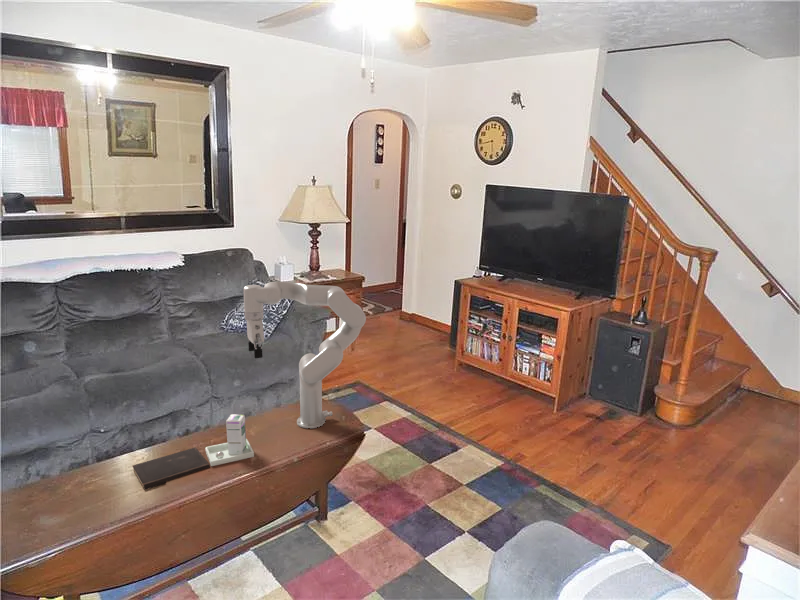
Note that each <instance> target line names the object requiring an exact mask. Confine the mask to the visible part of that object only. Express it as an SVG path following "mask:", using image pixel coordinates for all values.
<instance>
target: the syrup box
mask: <svg viewBox="0 0 800 600" xmlns="http://www.w3.org/2000/svg"><path fill="white" fill-rule="evenodd" d="M245 417H246V416H245V414H241V413H238V414H237V413H236V414H235V413H234V414H233V413H232V414H231V413H230V415H229V416H228V418H227V419H226V421H225V425H226V439H227V442H226V443H228V454H235V455H240V454H243V453H244V451H245V449H246V448H247V444H246V439H247V433H246V432H247V431H246V430H247V429H246V418H245Z"/></svg>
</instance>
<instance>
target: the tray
mask: <svg viewBox="0 0 800 600" xmlns="http://www.w3.org/2000/svg"><path fill="white" fill-rule="evenodd" d="M246 444H247V448H246V449H245V451H244V453H243V454H240V455H235V454H228V442H223V443H219V444H214V445H209V446H206V447H205V453H206V457H207V460H208V463H209V464H210V467H214V466H219V465H223V464H228V463H233V462H237V461H242V460H246V459H249V458H254V457H255V452H254V449H253V448H252V445H251V444H250V442H249V440H248V439H247V438H246ZM219 451H222V452H223V453H224V457H223V458H222V459H217V458H216V453H217V452H219Z"/></svg>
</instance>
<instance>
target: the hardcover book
mask: <svg viewBox="0 0 800 600" xmlns="http://www.w3.org/2000/svg"><path fill="white" fill-rule="evenodd" d="M209 468H211V465H210V462H209V461H207V460H206V458H205V457H204V456H203V455H202V453H201V452H200V451H199V450H198V448H197V447H196V446H195V447H191V448H188V449H185V450H183V451H182V450H181V451H178V452H175V453H172V454H171V453H170V454H169V455H168V454H167V455H164V456H161V457H158V458H154V459H151V460H146V461H144V462H143V461H142V462H141V463H137V464H134V465H133V464H132V469H133V472H134V473H135V475H136V478H138V480H139V481H140V484H141V485H142V487H143V490H149V489H151V488H154V487H158V486H161V485H163V484H164V485H165V484H167V482H170V481H171V480H174V479H175V480H176V479H179V478H181V477H184V476H188V475H190V474H194V473H197V472H200V471H203V470H207V469H209ZM148 488H149V489H148Z"/></svg>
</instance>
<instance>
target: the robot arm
mask: <svg viewBox="0 0 800 600" xmlns="http://www.w3.org/2000/svg"><path fill="white" fill-rule="evenodd" d="M281 300H292V301H296V302H298V303H300V304H302V305H306V306H324V307H325V306H326V307H329V308H330V309H331V311H332V312H333V313H335V314H336V316H337V317H339V319H341V321H343V322H342V324H341V326H340V327H339V328H338V329H336V330H335V332H333V333H332V334H331V335H330V336H328V337H327V338H326V339H324V341H322V342H321V343H320V345H319V348H318V352H319V353H318V354H315V353H310V352H309V353H306V354H304V355H303V356H302V357H301V358H300V360H299V361H298V371H299V372H298V374H299V407H300V408H299V409H300V410H299V412H300V414H299V415H300V416H298V418H297V420H296V424H297V426H298V427H300V428H303V429H308V428H310V429H317V427H318V428H319V427H320V426H321V427H322V426H324V425H325V424H326V422H325V421H327V420H326V418H328V417H333V414H334V413H333V411H328V410H323V395H322V394H323V393H322V391H323V379H325V378H326V377H327V376H328V375H330V374H331V372H333V371H334V370H335V369H337V368H338V366H340V365H341V363H342V361H343V359H344V351H345V350H346V349H348V347H350V346H351V344H353V342H355V341H356V339H357V338H358V337H359V335H360V333H361V330H362V327H364V325H365V324H366V321H367V317H366V316H367V315H366V313H365V312H364V310H363V308H362V307H361V306H360V305H359V304H357V303H355V302H354V301H352V299H351V298H349V296H348V295H347V293H346V292H345V291H344V289H343V288H342V287H340V286H337V285H321V284H320V285H317V284H305V283H297V282H293V281H292V282H291V281H270V282H267V283H265V284H264V287H262V286H261V285H259V284H249V285H245V286H244V287H243V307H244V308H243V309H244V320H245V321H246V334H247V336H246V337H247V341H248V344H247V345H248V351H249V352H253V353H254V354H253V356H254V359H261V358H263V344H262V343H264V342H265V334H264V323H263V320H264V304H266V305H276V304H279V302H280V301H281ZM324 423H325V424H324ZM323 424H324V425H323Z"/></svg>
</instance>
